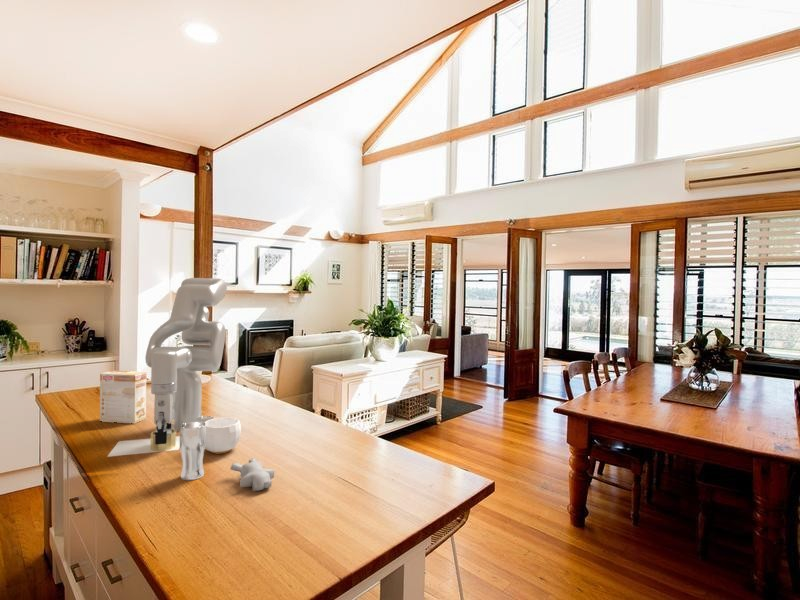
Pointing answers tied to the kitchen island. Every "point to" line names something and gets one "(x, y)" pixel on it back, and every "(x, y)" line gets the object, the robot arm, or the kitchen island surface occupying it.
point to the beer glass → (192, 449)
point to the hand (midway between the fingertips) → (163, 438)
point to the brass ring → (162, 447)
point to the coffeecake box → (122, 396)
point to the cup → (222, 434)
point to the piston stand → (138, 447)
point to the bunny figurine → (254, 475)
